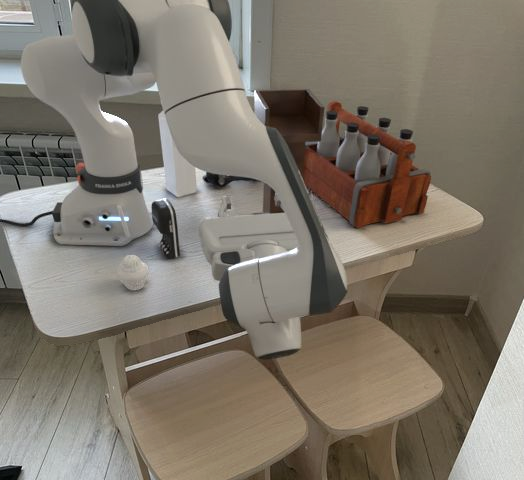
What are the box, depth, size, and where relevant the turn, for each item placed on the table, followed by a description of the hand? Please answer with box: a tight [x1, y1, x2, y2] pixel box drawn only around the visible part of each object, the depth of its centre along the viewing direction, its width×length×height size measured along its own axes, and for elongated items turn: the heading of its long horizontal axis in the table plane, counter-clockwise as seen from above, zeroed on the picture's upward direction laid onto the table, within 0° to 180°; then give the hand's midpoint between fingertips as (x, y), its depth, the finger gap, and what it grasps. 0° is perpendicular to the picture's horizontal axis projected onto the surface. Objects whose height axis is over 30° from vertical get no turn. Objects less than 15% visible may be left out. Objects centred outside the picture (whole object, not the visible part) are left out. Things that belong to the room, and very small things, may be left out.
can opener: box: [202, 171, 257, 188], centre depth 134 cm, size 18×7×6 cm, turn 114°
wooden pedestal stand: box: [252, 88, 325, 215], centre depth 108 cm, size 12×12×29 cm
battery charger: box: [150, 198, 181, 259], centre depth 106 cm, size 7×4×11 cm, turn 25°
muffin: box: [116, 254, 150, 291], centre depth 97 cm, size 6×6×7 cm
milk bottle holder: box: [303, 100, 432, 229], centre depth 126 cm, size 21×35×19 cm, turn 26°
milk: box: [157, 110, 198, 198], centre depth 124 cm, size 6×6×22 cm
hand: (252, 196), depth 87 cm, fingers open, 8 cm apart
